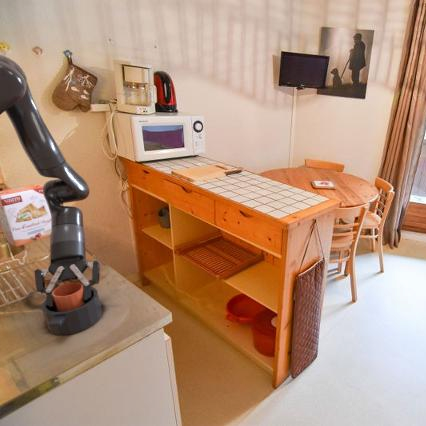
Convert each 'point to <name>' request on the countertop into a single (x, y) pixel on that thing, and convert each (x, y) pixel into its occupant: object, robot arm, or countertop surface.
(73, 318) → the pot
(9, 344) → the countertop surface
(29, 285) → the countertop surface
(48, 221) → the cracker box
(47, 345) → the countertop surface
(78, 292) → the cup
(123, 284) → the countertop surface
